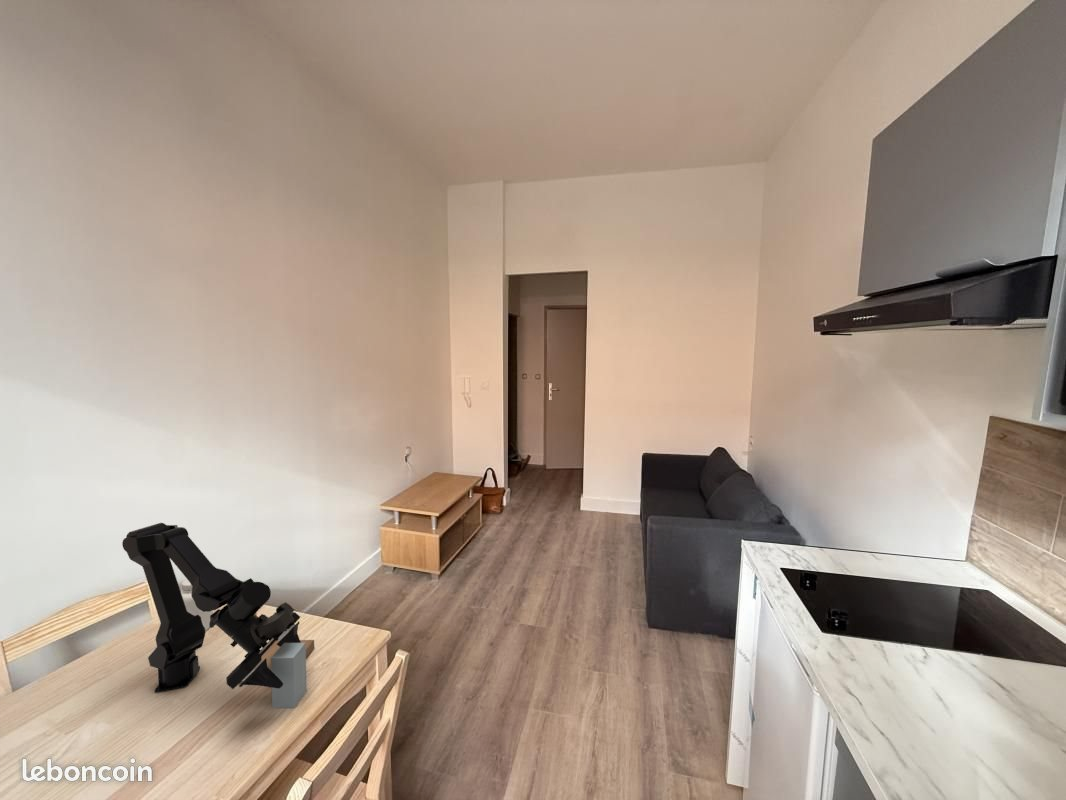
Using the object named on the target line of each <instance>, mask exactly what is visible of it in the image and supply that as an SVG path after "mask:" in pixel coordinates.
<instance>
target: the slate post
mask: <svg viewBox="0 0 1066 800" xmlns="http://www.w3.org/2000/svg"><path fill="white" fill-rule="evenodd" d="M271 671H272V672H273V673H274V674H275V675H276V676H277V677H278V678H279V679H280V680H281V681H282V683H283V686H282V687H281V688H272V687H271V709H295V708H297V705H298V704H299V702H300V701H301V700H302V698H303V697H304V695H305V694H306V692H307V689H308V688H307V685H308V684H307V659H306V644H305V643H284V644H283V645H282V646H281V647H280V648H279V649H278V650H277V652H276V653H275V654H274V655H273V656H272V657H271Z"/></svg>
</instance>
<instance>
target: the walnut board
mask: <svg viewBox="0 0 1066 800" xmlns="http://www.w3.org/2000/svg"><path fill="white" fill-rule="evenodd" d="M279 641H280V640H278V641H275V642H274V643H273V644H272V645H271V647H270V648H269V649H268V650H267V651H266V652H265V653H264V654H263V655H262V656H261V658H262V660H261V662H263V661H264V660H265V659H267V667H268V668H269V669H270V670H271V657H272V656H273V655H274V654H275V653H276V652H277V650H278V649H279V648H280V646H278V645H276V644H277V643H278V642H279ZM300 642H301V643H305V644H306V660H307V659H308V657H309V656H310V655H311V654H312V653H313V651H314V649H315V639H300ZM242 682H243V681H241V682H240V683H239V684H241V683H242Z"/></svg>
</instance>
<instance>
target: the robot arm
mask: <svg viewBox="0 0 1066 800" xmlns="http://www.w3.org/2000/svg"><path fill="white" fill-rule="evenodd" d="M189 536H190V535H189V531H188V530H187V529H186V527H182V526H181V527H180V526H179V527H178V525H177V524H165V523H163V522H159V523H155V524H152V525H147V526H145V527H142V528H139V529H135V530H131V531H128V533H127V534H126V537H125V538H123V540H122V543H121V544H122V545H121V546H122V548H123V550H124V551H125V552H126V555H128V558H129V560H131V561H132V562H133V563H136V564H138V565H139V566H141V567H142V569H143V573H144V576H145V579H146V582H147V584H148V587H149V588H148V589H149V590H150V594H151V597H152V600H153V603H154V607H155V610H156V613H157V615H158V619H159V622H160V624H159V627H158V630H157V633H156V636H155V642H156V643H155V644H156V647H155V649H154V650H153V651H152V652H151V654H149V656H148V657H147V660H148V664H149V666H150V667H152V668H155V669H157V677H158V680H157V681H158V685H157V686H156V687H155V688H154V693H158V692H160V693H161V692H164V691H171V690H176V689H181V688H186V687H187V686H188V685H189V684H190V683H191V682H192V680H193V679H194V678H195V676H196V675H197V674H198V672H199V671H200V669H201V666H200V665H199V656H198V655H196V651H197V650H198V649H200V648H202V647H203V646H204V645H203V644H204V641H205V637H206V632H207V630H206V631H205V628H204V626H203V624H202V621H201V617H200V616H199V615H196V616H194V615H192V614H191V613H189V612H187V609H186V606H185V603H184V600H183V597H182V594H181V591H182V590H181V589H180V586H179V582H178V579H177V576H176V572H175V570H174V567H173V563H174V565H175V566H176V567H177V569H179V571H180V572H181V574H182V575H183V576H184V577H185V578H186V580H187V579H188V581H189V582H190V583H191V585H192V595H191V596H192V598H193V600H194V601H195V605H196V607H197V608H198V609H200V610H201V611H203V612H205V611H207V612H210V611H212V610H213V614H212V615H211V616H210V623H209V626H210V628H209V629H213V628H214V627H215V626H217V627H218V628H219V629H220V630H221V631H223V632H224V633H225V634H226V635H227V636H228V637H230V638H231V639H232V642H231V643H230V646H231V647H232V648H234V647H236V646H237V645H238V646H239V647H240V648H242V649H243V650H244V651H245V652H246V654H245V655H244V659H243V660H242V661H241V662H240V663H239V664H238V665H237V666H236V667H235V668H234V669H232V671H231V672H230V673H229V674H228V675H227V676H226V678H225V679H226V683H225V684H226V685H227V686H228V687H229V688H231V689H232V690H234V689H235V688H237V686H238V687H239V688H241V687H243V686H260V687H267V688H271V689H272V688H281V687H282V686H283V683H282V681H281V680H280V679H279V678H278V677H277V676H276V675H275V674H274V673H273V672H272V671H271V670H270V669H269V668H268V667H267V659H265V660H264V661H263V662H261V660H262V658H261V656H262V655H263V654H264V653H265V652H266V651H267V650H268V649H269V648H270V647H271V645H272V644H273V643H274V642H275V641H278V640H280V641H279V642H278V643H277V644H276V645H278V646H280V647H281V646H282V645H283V644H284V643H301V642H300V640H301V639H300V637H299V633H298V631H299V630H298V629H299V625H300V621H299V619H300V618H301V616H300V615H299V614H298V613H297V612H295V609H294V608H293V606H292V605H290V604H289V603H288V602H286V601H285V602H283V603H280V605H278V607H276V610H275V611H276V612H273V614H272V615H271V616H267V615H265V614H263V613H261V614H260V615H259V616H258V615H255V613H256V612H257V613H258V612H259V610H260V609H261V608H263V606H264V605H265V604H266V603H267V602H268V601H269V600H270V598H271V593H272V592H271V589H270V586H269V585H268V584H266V583H264V582H261V581H254V580H253V579H252V578H248V579H245V580H244V581H243V580H240V579H238V578H236V577H235V576H234V575H233V574H232V573H230V572H229V571H228V570H226V569H222V568H218V567H216V566H215V565H214V564H213V563H212V562H211V561H210V560H209V559H208V557H207V556H206V555H205V554H204V553H203V552H202V551H201V549H200V548H199V546H197V545H196V544H195V542H194V541H193V540H192V538H191V537H189ZM221 607H222V608H221ZM220 608H221V609H220ZM241 681H243V682H242V683H240V682H241Z"/></svg>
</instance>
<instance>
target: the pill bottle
mask: <svg viewBox="0 0 1066 800" xmlns="http://www.w3.org/2000/svg"><path fill="white" fill-rule="evenodd" d="M180 591H181V594H182V597H183V600H184V603H185V606H186V609H187V612H189V613H191V614H192V615H194V616H196V615H199V616H200V617H201V621H202V624H203V626H204V628H205V631H206V632H207V631H208V630H209V629H211V628H210V626H209V623H210V616H211V615H212V614H213V613H214V610H212V611H210V612H207V611H205V612H203V611H201V610H200V609H198V608H197V607H196V605H195V601H194V600H193V598H192V596H191V595H192V585H191V583H190V582H189V581H188V579H187V578H186V579H185V580H184V581H183V582H182V583H181V590H180Z"/></svg>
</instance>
